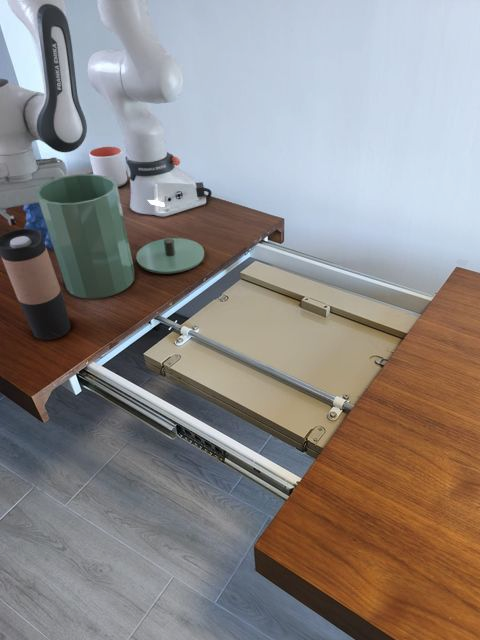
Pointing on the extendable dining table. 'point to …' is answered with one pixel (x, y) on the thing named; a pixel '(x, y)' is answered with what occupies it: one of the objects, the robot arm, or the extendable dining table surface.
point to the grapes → (37, 222)
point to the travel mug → (35, 282)
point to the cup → (109, 164)
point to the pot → (88, 234)
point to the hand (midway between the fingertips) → (33, 220)
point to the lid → (170, 255)
